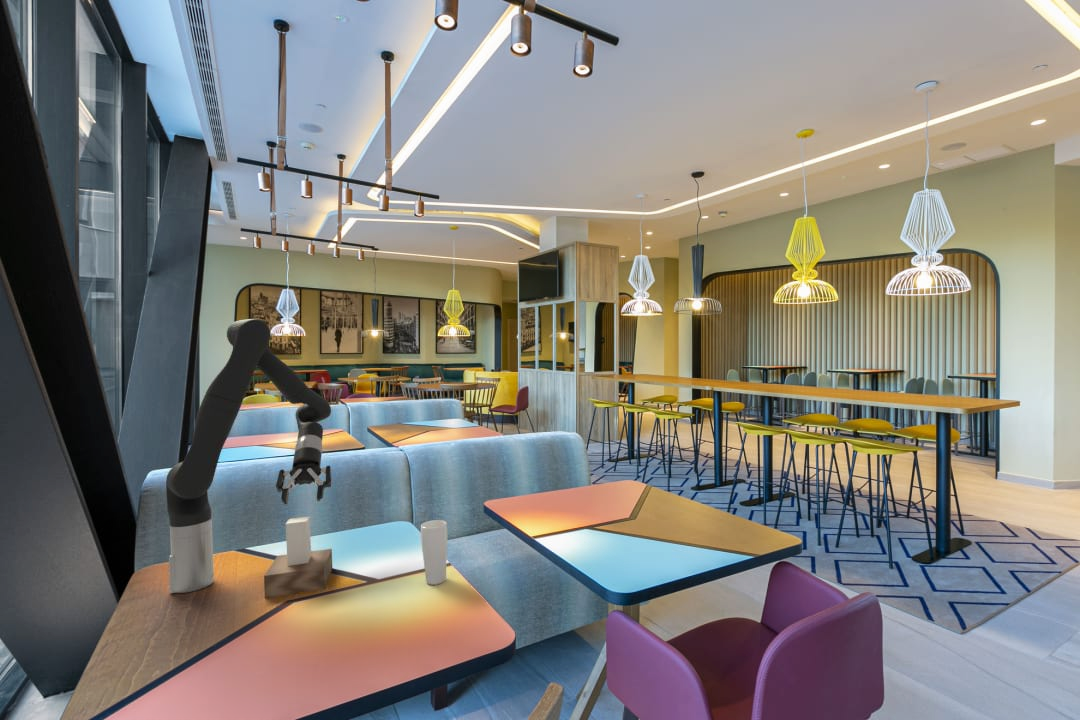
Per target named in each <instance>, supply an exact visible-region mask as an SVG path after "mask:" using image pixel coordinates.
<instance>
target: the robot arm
mask: <svg viewBox="0 0 1080 720" xmlns="http://www.w3.org/2000/svg"><path fill="white" fill-rule="evenodd" d="M271 335H272V334H271V329H270V327H269V325H268V324H267V323H266V322H265V321H264V320H261V319H256V318H249V319H247V318H246V319H240V320H236V321H234V322H232V323H231V324H230V325H229V326H228V328H227V331H226V338H227V340H228V343H230V345H231V346H232V347H233V349H232V351H231V352H230V356H229V358H228V361H227V362H226V363H225V365H224V366H223V368H222V369H221V370H220V372H219V373H218V374H217V375H216V377H214V379H213V380H212V382H210V385H209V386H208V387H207V390H206V392H205V394H204V395H203V398H202V401H201V403H200V405H199V409H198V411H197V415H196V420H195V425H194V430H193V431H194V432H193V439H192V440H191V444H190V447H189V449H188V451H187V453H186V454H185V457H184V460H183V461H181V462H179V463H177V464H175V465H173V467H171V469H170V470H169V471H168V473H167V475H166V481H165V485H166V486H165V487H166V488H165V491H166V508H167V514H168V519H169V536H170V537H169V538H170V555H169V556H168V572H169V575H168V579H169V594H170V595H171V594H184V593H185V594H186V593H191V592H195V591H199V590H201V589H204V588H207V587H209V586H210V585H212V584H213V583H214V581H215V578H214V576H215V573H214V551H213V550H214V549H213V547H214V546H213V527H212V525H213V523H212V522H213V521H212V520H213V519H212V508H211V505H210V502H209V497H208V491H209V489H210V487H211V486H212V484H213V481H214V478H215V475H216V474H215V473H216V470H217V466H218V463H219V459H220V457H221V454H222V453H221V452H222V451H223V448H224V445H225V443H226V441H227V439H228V437H229V435H230V433H231V430H232V428H233V426H234V424H235V420H236V419H237V416H238V415H239V412H240V409H241V407H242V404H243V401H244V398H245V396H246V394H247V391H248V389H249V386H250V383H251V380H252V379H253V375H254V373H255V370H256V368H257V369H259V370H260V371H261V372H262V373H263V374H264V375H265V376H266V377H267V378H268V379H269V381H270V382H271V383H272V384H273V385H274V386H275V387H276V389H277V390H278V391H279V392H280V394H282V395H283V397H284V398H285V399H286V400H287V401H288V402H289V403H290V404H292V405H296V404H297V405H298V404H302V405H300V406H299V407H297V409H296V411H295V420H296V423H297V429H298V433H297V439H296V444H295V448H294V454H293V459H292V460H293V461H292V468H291V470H284V469H280V470H279V472H278V476H277V479H276V484H275V488H276V491H277V492H278V493H281V502H282V503H283V504H284V505H288V501H289V497H290V491H291V490H292V489H295V488H296V486H297V485H298V486H301V485H305V484H306V485H310V484H312V483H313V485H315V486H316V487H317V488H316V489H317V491H316V501H317V502H320V501H321V500H322V499H323V498H324V492H325V491H324V490H325V489H326V488H331V486H332V468H331V466H330V465H326V467H322V468H321V462H322V455H323V436H324V435H323V434H324V429H323V425H321V424H320V423H319V422H321V421H324V420H326V419H328V418H329V417H330V416H331V413H332V408H331V405H330V403H329V402H328V401H327V399H326V398H324V397H323V396H321V395H320V394H318V393H317V392H315V391H314V390H313V389H311V388H310V387H308V386H307V384H306V383H305V382H304V380H303V379H302V378H301V377H300V376H299V375H298V373H296V372H295V370H293V369H292V368H291V367H290V366H289V365H287V364H286V362H284V361H282V360H281V359H280V358H279V357H277V355H276V354H275V353H274V352H272V351H271V349H270V348H269V347H268V345H269V343H270V341H271ZM321 474H323V476H325V481H323V480H321V479H320V476H321ZM289 476H290V477H289ZM288 477H289V478H288ZM287 478H288V480H287ZM286 480H287V482H286V483H285V481H286Z"/></svg>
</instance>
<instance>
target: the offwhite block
mask: <svg viewBox="0 0 1080 720" xmlns="http://www.w3.org/2000/svg"><path fill="white" fill-rule="evenodd" d="M310 517H311V516H309V515H308V516H299V517H292V518H289V519H288V520H287V521H286V523H285V537H286V555H287V566H291V565H298V564H304V563H308V562H309V560H310V558H311V551H312V543H311V542H312V540H311V518H310Z"/></svg>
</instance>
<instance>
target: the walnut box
mask: <svg viewBox="0 0 1080 720" xmlns="http://www.w3.org/2000/svg"><path fill="white" fill-rule="evenodd" d="M332 551H333V549H332V548H328V549H327V548H326V549H320V550H319V549H318V550H311V558H310V560H309V562H308V563H304V564H298V565H291V566H287V554H279V555H277V556H276V557H275V559H274V561H273V562H272V563H271V565H270V566H269V568H268V569H267V571H266V572H265V573H264V575H263V584H264V598H265V599H266V598H267V599H268V598H274V597H281V596H288V594H289V595H294V593H296V594H300V592H302V593H307V592H306V591H309V592H314V590H316V591H321V590H325V589H326V587H327V584H328V581H329V579H330V576H331V573H332V571H333V552H332Z"/></svg>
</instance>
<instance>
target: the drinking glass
mask: <svg viewBox="0 0 1080 720" xmlns="http://www.w3.org/2000/svg"><path fill="white" fill-rule="evenodd" d="M420 543H421V544H420V545H421V552H422V558H423V565H424V567H423V568H424V574H425V575H424V576H425V582H426V584H428V585H430V586H431V585H433V586H435V585H436V586H437V585H440V584H442V583H444V582H446V580H447V559H448V558H447V556H448V555H447V554H448V524H447V521H445V520H443V519H442V520H440V519H436V520H435V519H434V520H428V521H425V522H423V523H421V525H420Z"/></svg>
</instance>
